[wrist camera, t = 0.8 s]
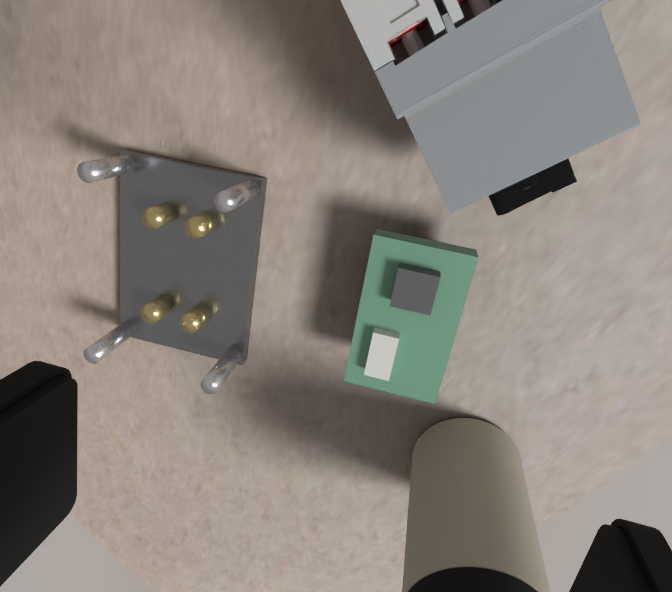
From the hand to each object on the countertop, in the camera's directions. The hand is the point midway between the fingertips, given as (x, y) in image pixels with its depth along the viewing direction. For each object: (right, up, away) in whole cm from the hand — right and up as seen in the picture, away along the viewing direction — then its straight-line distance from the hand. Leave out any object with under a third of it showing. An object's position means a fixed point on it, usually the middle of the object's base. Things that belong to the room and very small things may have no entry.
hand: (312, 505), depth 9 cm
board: (+5, +3, +23) cm, 24 cm away
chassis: (-10, +6, +28) cm, 30 cm away
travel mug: (+10, -9, +30) cm, 33 cm away
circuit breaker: (+8, +17, +20) cm, 28 cm away
